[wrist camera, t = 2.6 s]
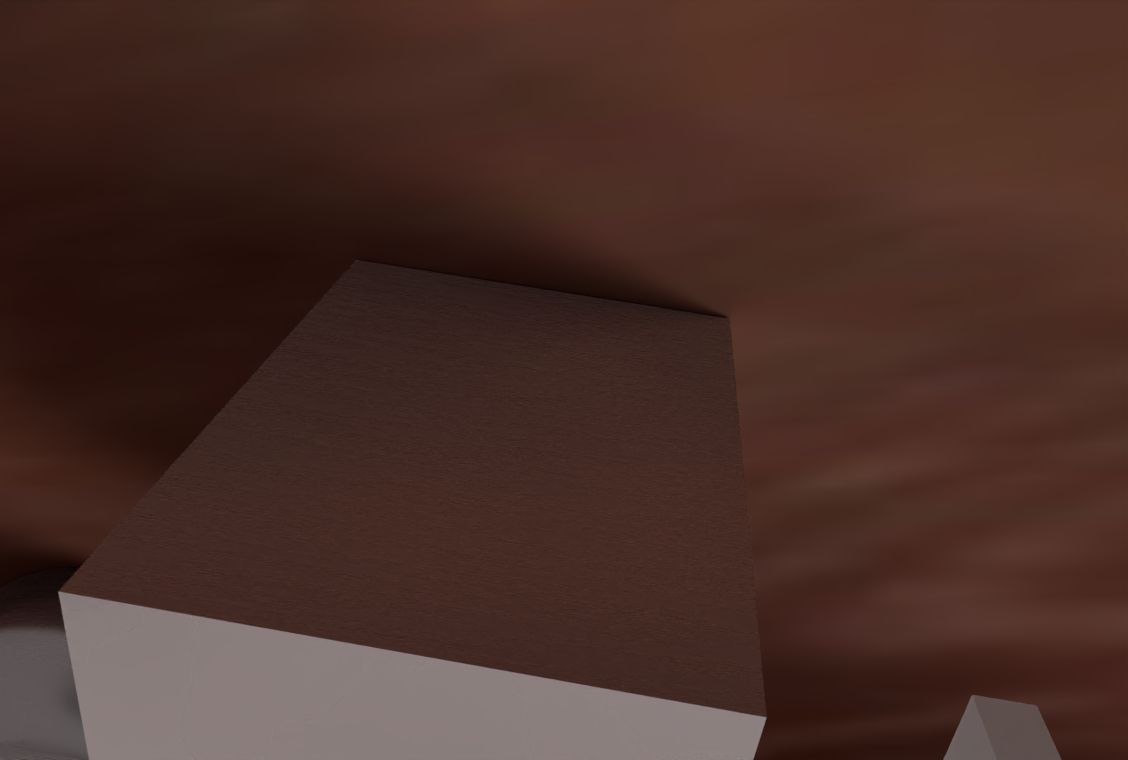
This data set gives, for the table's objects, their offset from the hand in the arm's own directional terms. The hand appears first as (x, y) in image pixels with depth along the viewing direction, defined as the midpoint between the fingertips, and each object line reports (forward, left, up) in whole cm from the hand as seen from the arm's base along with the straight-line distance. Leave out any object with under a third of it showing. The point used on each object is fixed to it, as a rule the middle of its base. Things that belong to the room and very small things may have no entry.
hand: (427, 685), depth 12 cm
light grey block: (0, 0, -5) cm, 5 cm away
